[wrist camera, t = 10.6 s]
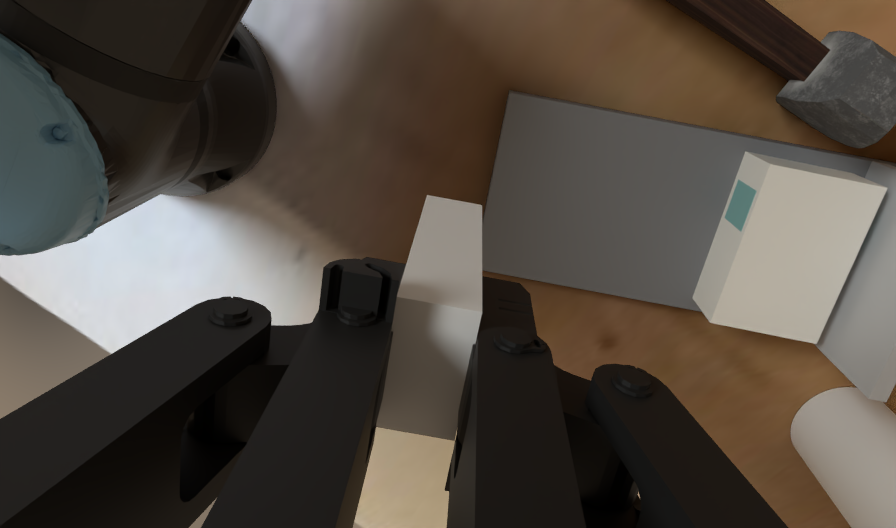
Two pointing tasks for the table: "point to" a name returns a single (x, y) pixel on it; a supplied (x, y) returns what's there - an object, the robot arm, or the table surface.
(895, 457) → the cup
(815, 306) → the carton
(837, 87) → the hammer
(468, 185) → the table surface
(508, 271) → the grey base with uprights
